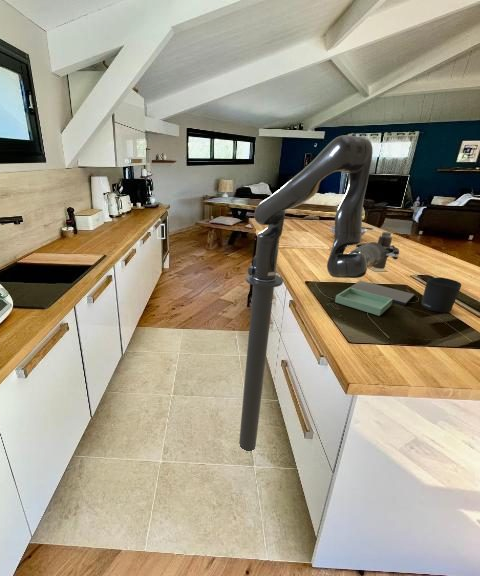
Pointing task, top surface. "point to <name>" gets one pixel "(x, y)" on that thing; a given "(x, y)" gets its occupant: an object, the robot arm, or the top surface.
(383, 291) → the slate board
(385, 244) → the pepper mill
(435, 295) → the pen holder
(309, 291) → the top surface
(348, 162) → the robot arm
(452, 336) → the top surface
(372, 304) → the tray
